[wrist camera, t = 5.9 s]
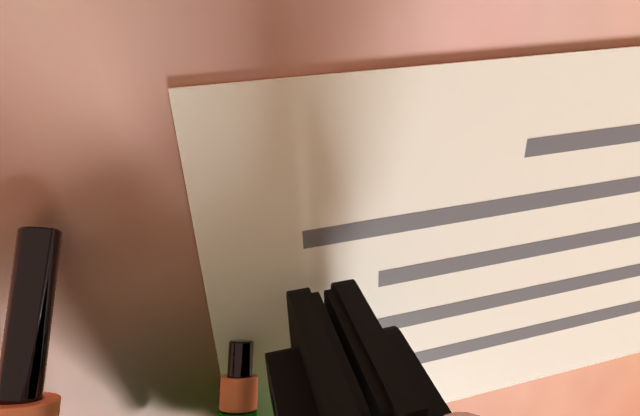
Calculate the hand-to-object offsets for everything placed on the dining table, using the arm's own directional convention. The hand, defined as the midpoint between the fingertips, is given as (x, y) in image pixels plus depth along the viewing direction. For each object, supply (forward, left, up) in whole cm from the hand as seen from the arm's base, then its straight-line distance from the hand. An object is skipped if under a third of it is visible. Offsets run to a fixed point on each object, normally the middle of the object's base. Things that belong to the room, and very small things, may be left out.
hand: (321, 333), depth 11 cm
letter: (-6, 0, -1) cm, 7 cm away
